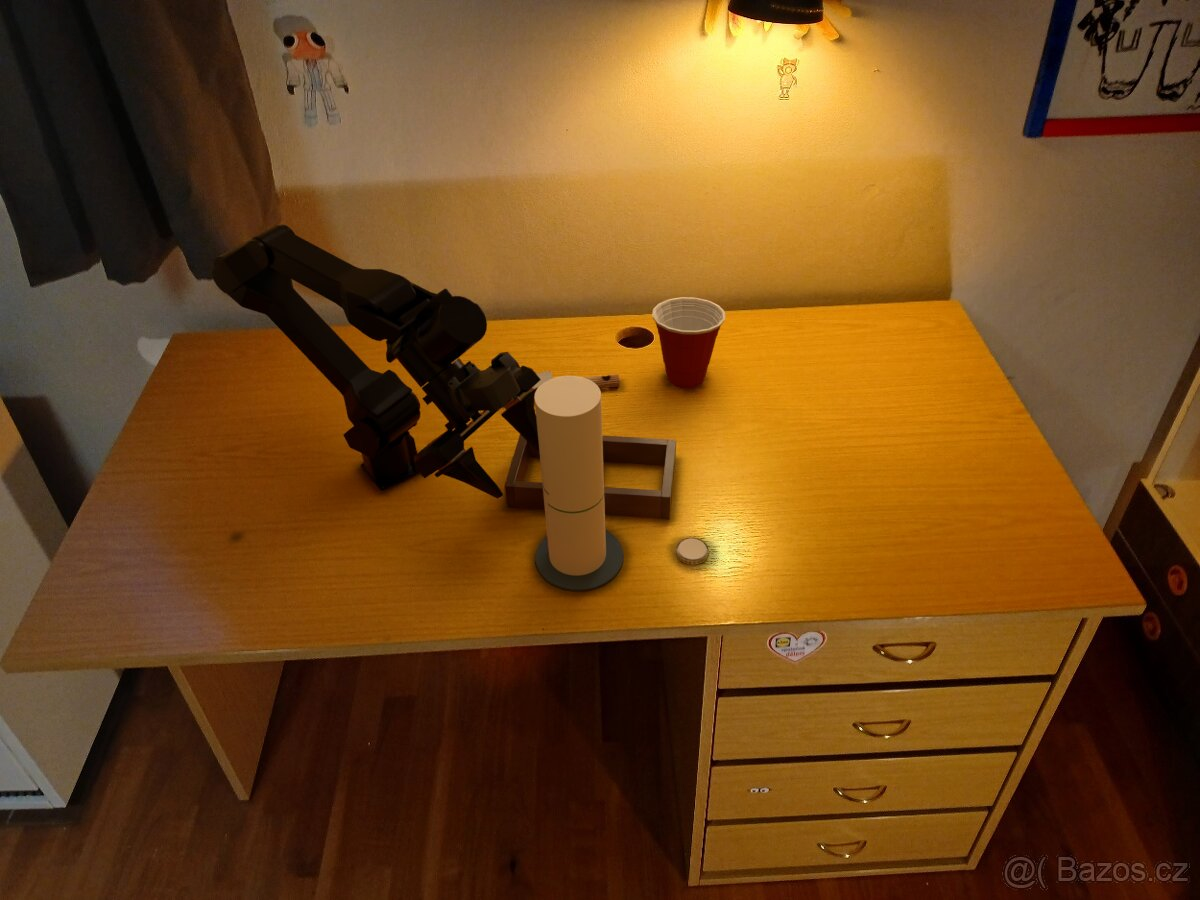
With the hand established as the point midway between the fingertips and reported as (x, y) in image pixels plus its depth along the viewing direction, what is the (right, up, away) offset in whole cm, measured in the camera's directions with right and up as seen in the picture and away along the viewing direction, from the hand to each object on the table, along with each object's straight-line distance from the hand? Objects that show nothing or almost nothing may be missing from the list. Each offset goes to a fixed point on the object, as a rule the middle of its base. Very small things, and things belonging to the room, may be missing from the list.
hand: (523, 474), depth 110 cm
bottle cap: (+21, -10, +4) cm, 23 cm away
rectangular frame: (+8, -2, +14) cm, 16 cm away
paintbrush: (+2, +12, +30) cm, 32 cm away
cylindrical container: (+6, -10, +4) cm, 13 cm away
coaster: (+7, -11, +4) cm, 13 cm away
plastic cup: (+23, +14, +32) cm, 41 cm away
